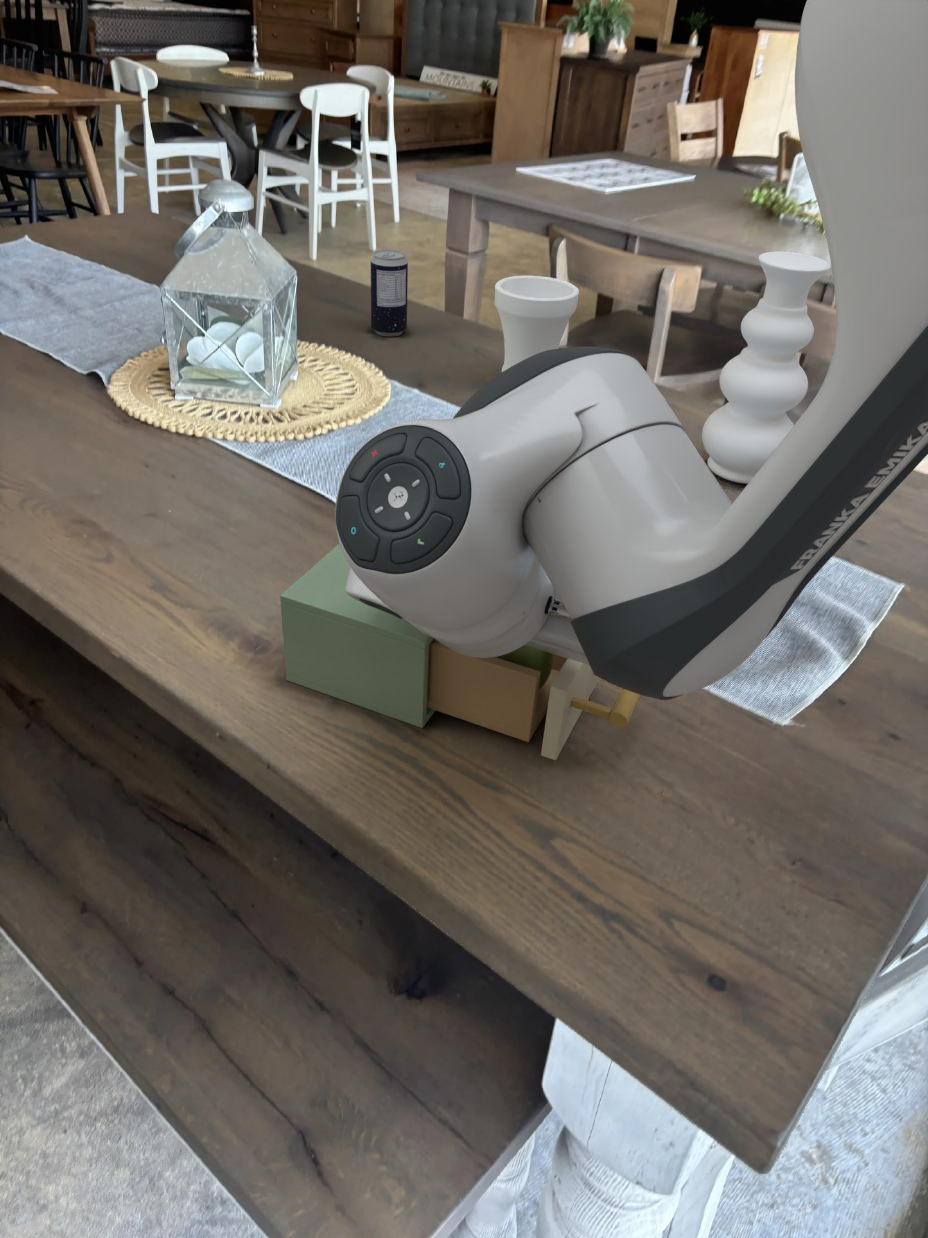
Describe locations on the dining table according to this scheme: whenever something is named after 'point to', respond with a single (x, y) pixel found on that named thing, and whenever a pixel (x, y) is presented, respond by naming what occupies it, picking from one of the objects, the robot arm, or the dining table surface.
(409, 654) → the cabinet
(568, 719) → the drawer
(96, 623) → the dining table surface
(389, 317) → the beverage can
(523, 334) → the cup
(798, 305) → the vase
